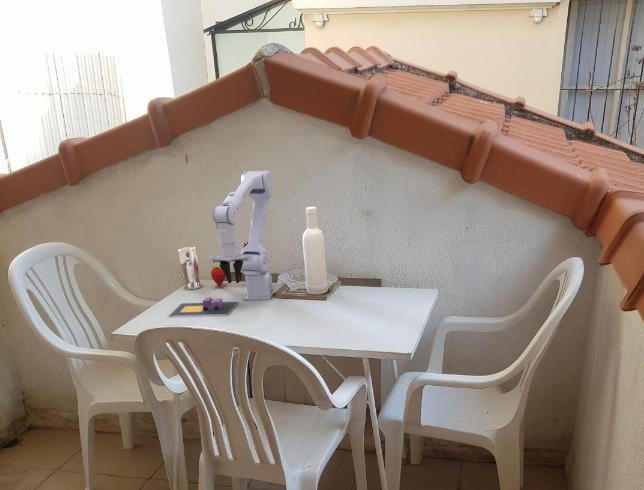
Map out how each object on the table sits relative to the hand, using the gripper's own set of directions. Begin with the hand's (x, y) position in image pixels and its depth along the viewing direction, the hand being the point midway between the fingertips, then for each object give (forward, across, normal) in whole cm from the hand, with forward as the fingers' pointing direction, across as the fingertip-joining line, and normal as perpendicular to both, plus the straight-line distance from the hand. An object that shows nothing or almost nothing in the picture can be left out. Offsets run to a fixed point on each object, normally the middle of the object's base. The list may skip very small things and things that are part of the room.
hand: (234, 282), depth 241 cm
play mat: (+9, -12, 0) cm, 16 cm away
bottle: (+10, +26, +18) cm, 33 cm away
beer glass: (+10, -26, +30) cm, 41 cm away
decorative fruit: (+4, -15, +29) cm, 33 cm away
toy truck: (+9, -9, 0) cm, 13 cm away
